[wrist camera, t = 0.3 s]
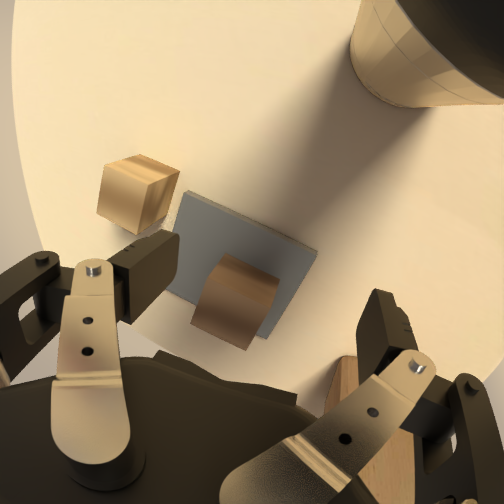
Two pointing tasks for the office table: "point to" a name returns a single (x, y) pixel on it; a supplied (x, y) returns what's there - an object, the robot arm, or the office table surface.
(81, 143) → the office table surface
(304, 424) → the robot arm
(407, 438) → the block
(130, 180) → the oak block
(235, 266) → the walnut block
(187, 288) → the plate
